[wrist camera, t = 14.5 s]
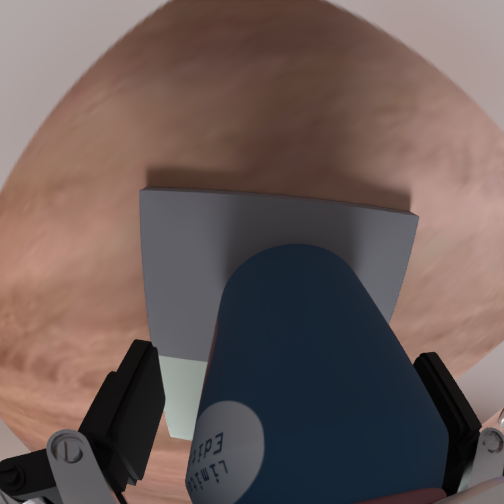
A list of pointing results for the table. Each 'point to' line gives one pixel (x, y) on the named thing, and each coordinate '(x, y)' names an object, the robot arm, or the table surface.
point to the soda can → (311, 394)
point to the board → (235, 254)
